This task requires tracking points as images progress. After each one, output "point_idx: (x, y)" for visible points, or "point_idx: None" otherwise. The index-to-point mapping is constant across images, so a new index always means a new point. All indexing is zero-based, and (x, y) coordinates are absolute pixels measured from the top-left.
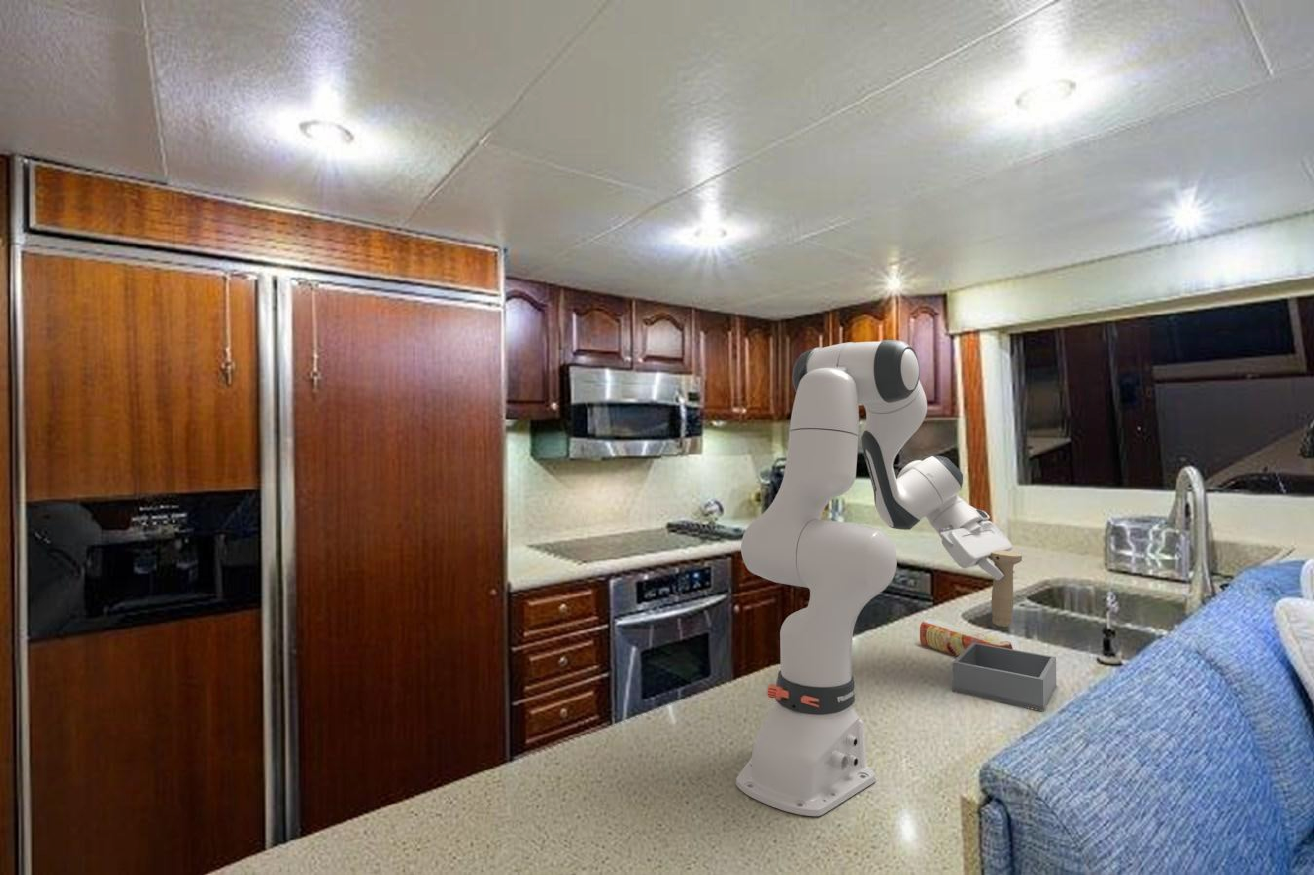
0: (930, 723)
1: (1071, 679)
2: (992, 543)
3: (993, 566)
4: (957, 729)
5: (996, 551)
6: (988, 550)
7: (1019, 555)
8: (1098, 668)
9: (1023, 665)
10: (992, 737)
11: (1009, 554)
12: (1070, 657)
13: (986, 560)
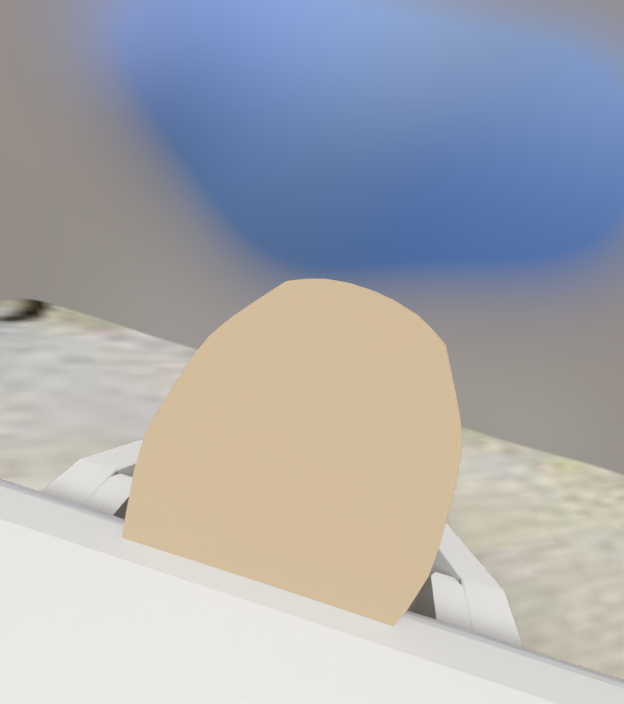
0: (606, 609)
1: (172, 364)
2: (3, 682)
3: (458, 538)
4: (590, 547)
5: (262, 548)
6: (413, 671)
7: (345, 296)
8: (76, 319)
9: None
10: (574, 478)
11: (361, 382)
12: (10, 367)
13: (511, 630)
